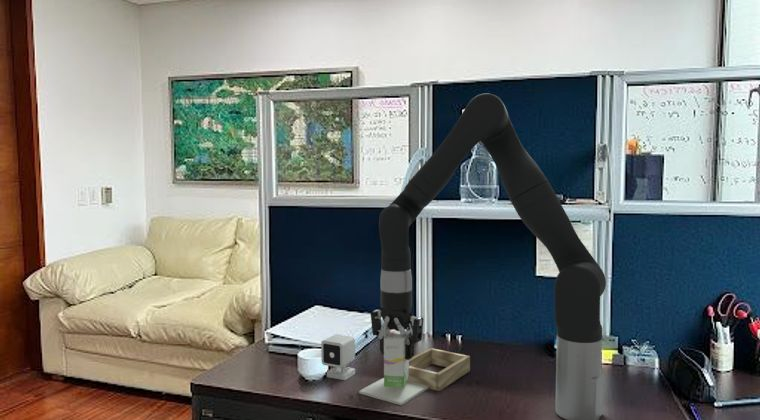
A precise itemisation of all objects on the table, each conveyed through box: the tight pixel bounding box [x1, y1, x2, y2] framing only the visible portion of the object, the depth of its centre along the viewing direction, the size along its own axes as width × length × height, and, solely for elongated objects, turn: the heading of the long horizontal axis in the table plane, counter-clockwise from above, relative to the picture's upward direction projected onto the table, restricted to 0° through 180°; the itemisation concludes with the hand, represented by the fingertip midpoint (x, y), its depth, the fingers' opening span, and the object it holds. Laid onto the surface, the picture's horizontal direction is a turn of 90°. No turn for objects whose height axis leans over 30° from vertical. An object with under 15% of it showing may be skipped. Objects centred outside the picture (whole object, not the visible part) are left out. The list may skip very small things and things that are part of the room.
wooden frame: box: [407, 347, 471, 392], centre depth 150 cm, size 12×16×4 cm
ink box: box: [383, 323, 409, 388], centre depth 141 cm, size 9×5×15 cm, turn 168°
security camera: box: [320, 333, 356, 381], centre depth 150 cm, size 6×7×10 cm
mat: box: [358, 377, 430, 406], centre depth 142 cm, size 12×14×1 cm
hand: (396, 355), depth 141 cm, fingers closed on ink box, 6 cm apart
